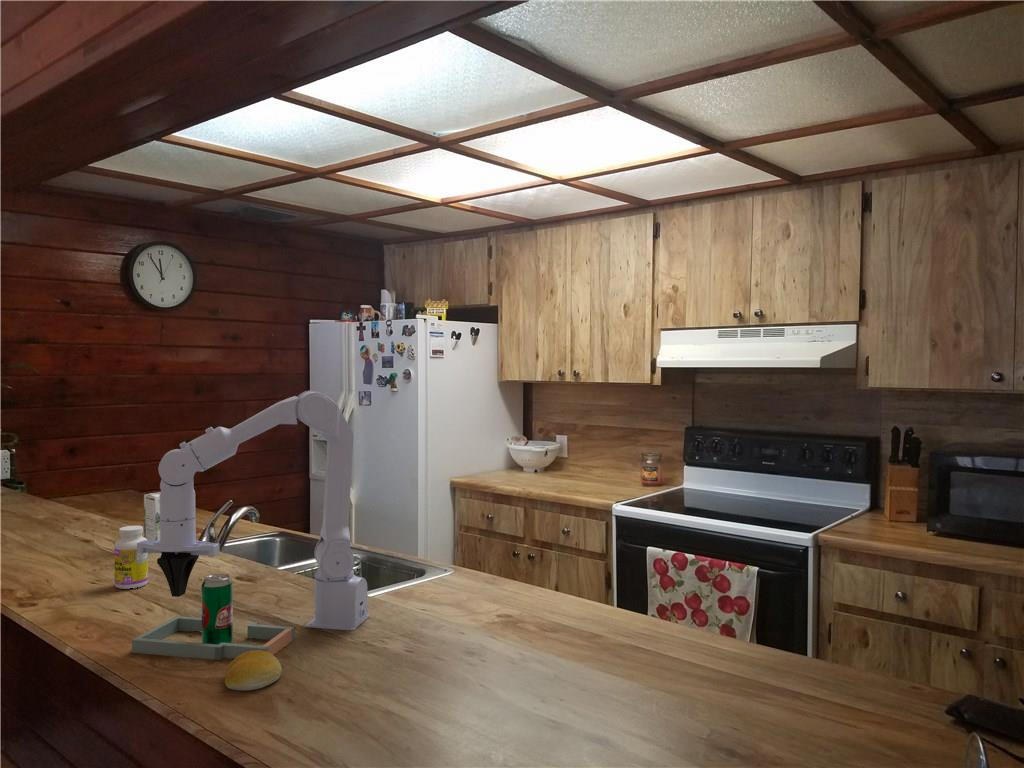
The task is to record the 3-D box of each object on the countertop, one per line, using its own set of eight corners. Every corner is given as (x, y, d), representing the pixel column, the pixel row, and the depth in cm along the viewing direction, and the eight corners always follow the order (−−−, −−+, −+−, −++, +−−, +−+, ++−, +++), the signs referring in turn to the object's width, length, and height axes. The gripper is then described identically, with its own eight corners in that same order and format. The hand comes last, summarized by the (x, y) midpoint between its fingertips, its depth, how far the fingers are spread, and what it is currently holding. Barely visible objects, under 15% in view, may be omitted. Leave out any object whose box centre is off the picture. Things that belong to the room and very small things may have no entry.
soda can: (220, 652, 126) (219, 582, 126) (195, 649, 128) (194, 580, 127) (239, 641, 131) (238, 574, 131) (214, 638, 133) (214, 572, 132)
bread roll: (224, 696, 109) (223, 669, 109) (226, 674, 117) (225, 649, 117) (283, 687, 112) (281, 660, 111) (281, 666, 120) (280, 641, 120)
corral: (297, 639, 133) (296, 625, 132) (261, 666, 121) (261, 650, 121) (177, 629, 137) (177, 615, 137) (132, 654, 125) (131, 639, 125)
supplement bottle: (107, 587, 162) (106, 529, 162) (133, 579, 168) (132, 523, 168) (130, 591, 160) (129, 532, 159) (155, 583, 166) (154, 525, 166)
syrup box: (164, 543, 202) (163, 490, 201) (176, 546, 198) (175, 492, 198) (143, 547, 197) (143, 493, 197) (155, 551, 194) (154, 495, 193)
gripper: (228, 515, 133) (228, 589, 134) (154, 512, 135) (154, 586, 136) (206, 523, 126) (207, 602, 127) (128, 520, 128) (129, 598, 129)
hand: (178, 594), depth 131 cm, fingers closed
